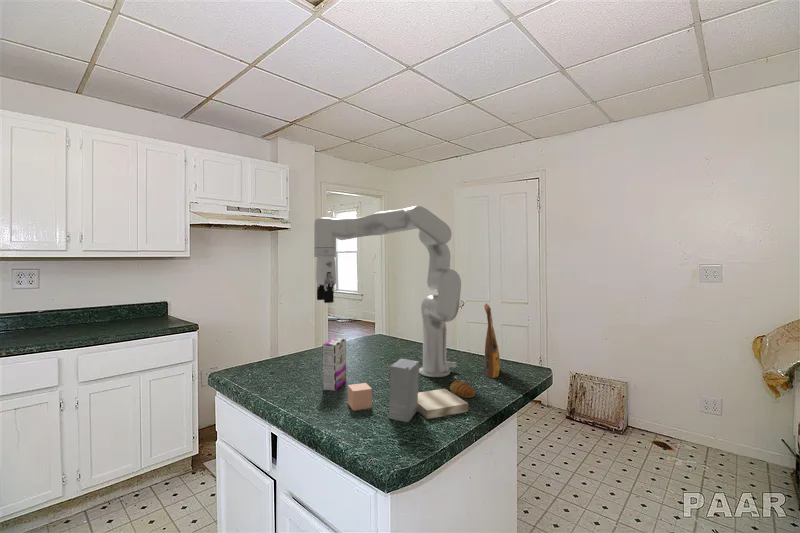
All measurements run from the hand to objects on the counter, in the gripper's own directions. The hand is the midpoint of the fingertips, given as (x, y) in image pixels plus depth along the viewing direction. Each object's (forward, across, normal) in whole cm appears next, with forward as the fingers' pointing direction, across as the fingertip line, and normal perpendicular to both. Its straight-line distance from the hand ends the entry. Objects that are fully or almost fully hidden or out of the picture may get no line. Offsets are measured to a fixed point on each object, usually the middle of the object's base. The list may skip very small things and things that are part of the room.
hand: (324, 301), depth 133 cm
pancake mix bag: (+31, -11, -66) cm, 74 cm away
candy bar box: (+31, +1, -4) cm, 31 cm away
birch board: (+31, -32, -27) cm, 52 cm away
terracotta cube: (+31, -20, -6) cm, 38 cm away
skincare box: (+31, -34, -15) cm, 48 cm away
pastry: (+31, -26, -42) cm, 58 cm away
